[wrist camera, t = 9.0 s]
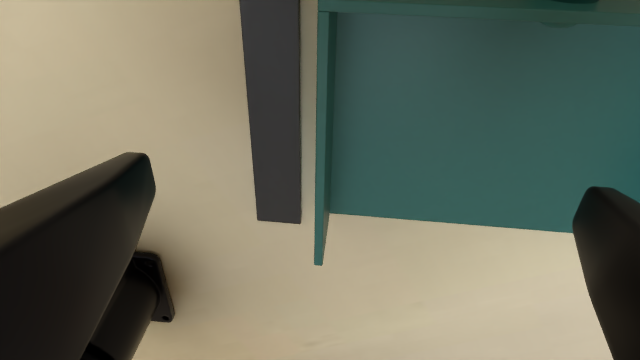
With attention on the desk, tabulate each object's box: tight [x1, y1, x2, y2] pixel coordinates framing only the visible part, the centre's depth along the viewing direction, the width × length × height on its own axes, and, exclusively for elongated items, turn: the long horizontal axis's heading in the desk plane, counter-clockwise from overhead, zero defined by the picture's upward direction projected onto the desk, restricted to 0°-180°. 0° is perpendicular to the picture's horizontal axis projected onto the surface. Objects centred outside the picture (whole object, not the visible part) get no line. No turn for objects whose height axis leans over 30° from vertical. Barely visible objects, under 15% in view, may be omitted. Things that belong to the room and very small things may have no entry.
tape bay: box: [239, 0, 301, 224], centre depth 20 cm, size 18×24×1 cm
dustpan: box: [314, 0, 640, 266], centre depth 16 cm, size 24×17×4 cm
